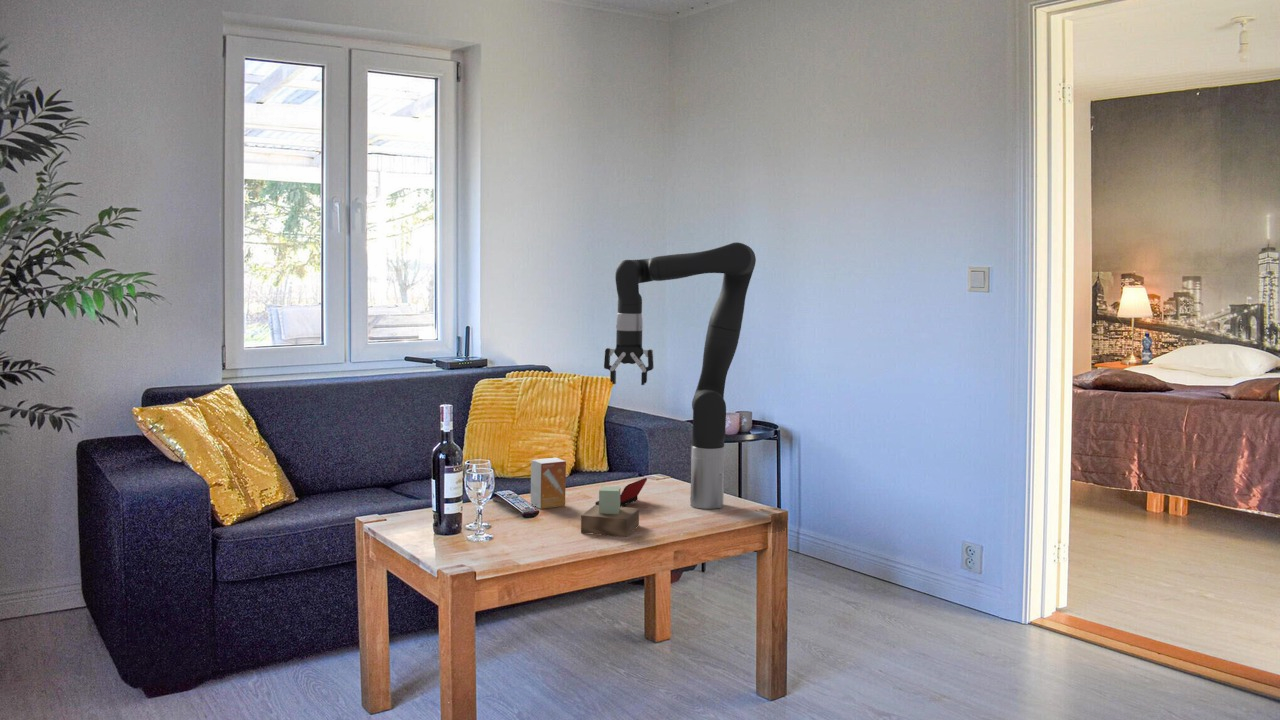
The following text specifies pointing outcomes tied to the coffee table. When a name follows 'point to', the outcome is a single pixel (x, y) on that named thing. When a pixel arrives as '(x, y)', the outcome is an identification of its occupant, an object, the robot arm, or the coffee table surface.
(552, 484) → the small box
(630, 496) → the handheld game console
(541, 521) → the coffee table surface
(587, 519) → the walnut base
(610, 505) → the green block
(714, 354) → the robot arm
